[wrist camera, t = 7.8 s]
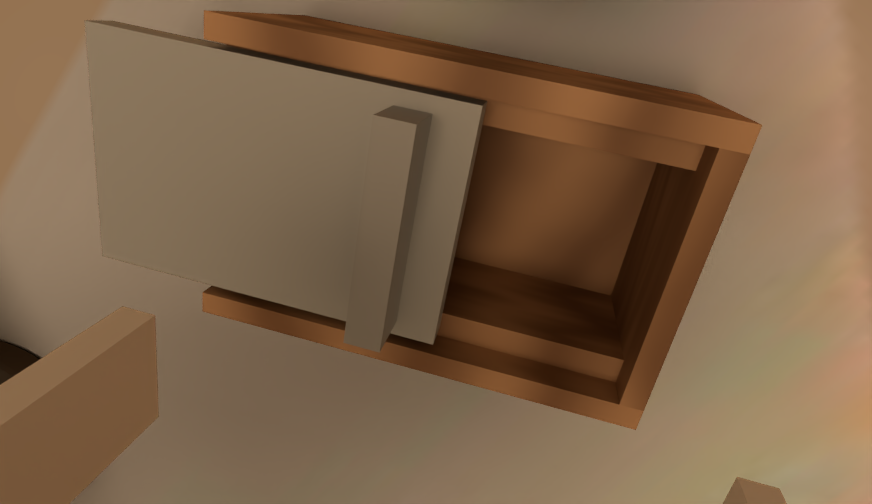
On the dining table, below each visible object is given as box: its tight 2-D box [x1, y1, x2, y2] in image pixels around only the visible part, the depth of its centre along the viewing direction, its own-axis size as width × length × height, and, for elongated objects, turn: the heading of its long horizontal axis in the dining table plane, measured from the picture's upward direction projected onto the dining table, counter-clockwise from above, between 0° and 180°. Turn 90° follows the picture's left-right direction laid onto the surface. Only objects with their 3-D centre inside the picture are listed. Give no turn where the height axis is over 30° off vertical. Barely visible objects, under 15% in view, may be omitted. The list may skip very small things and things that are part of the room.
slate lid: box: [85, 20, 487, 353], centre depth 22 cm, size 16×10×4 cm, turn 80°
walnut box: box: [203, 11, 762, 430], centre depth 26 cm, size 20×13×9 cm, turn 80°
